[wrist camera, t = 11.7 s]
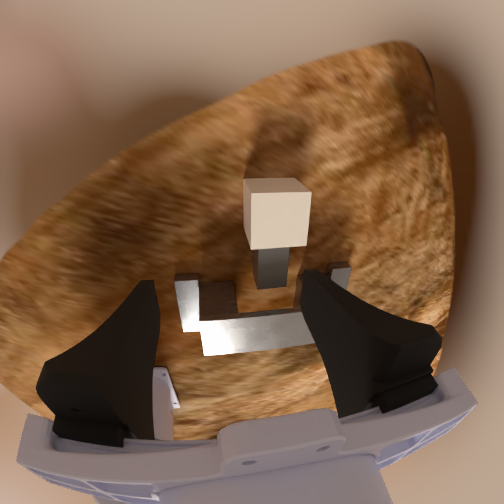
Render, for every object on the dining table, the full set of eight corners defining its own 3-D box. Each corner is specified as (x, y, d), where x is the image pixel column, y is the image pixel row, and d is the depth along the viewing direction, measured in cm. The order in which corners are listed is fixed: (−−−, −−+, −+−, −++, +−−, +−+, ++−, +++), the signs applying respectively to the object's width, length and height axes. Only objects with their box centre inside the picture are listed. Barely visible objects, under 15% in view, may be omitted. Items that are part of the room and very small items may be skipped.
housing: (336, 309, 29) (354, 341, 25) (183, 324, 27) (182, 364, 22) (347, 261, 26) (371, 292, 22) (174, 274, 24) (170, 313, 19)
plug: (287, 270, 25) (300, 295, 22) (243, 274, 25) (250, 301, 22) (294, 177, 21) (311, 192, 18) (243, 178, 21) (251, 193, 17)
